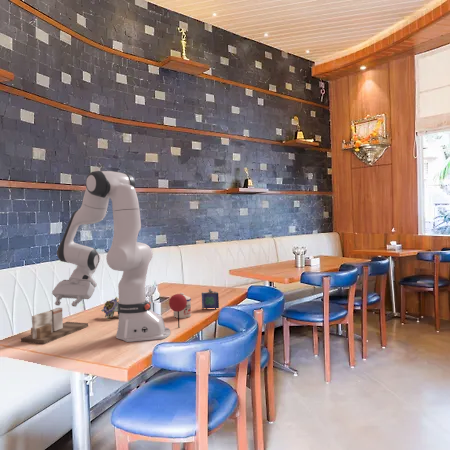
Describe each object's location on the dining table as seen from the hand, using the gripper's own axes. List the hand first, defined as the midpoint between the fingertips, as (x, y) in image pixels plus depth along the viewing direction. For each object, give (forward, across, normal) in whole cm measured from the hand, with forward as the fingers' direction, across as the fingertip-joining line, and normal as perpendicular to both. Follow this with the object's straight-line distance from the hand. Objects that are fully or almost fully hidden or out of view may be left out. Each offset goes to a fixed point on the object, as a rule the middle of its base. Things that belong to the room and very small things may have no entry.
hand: (65, 305), depth 181 cm
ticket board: (+12, 0, +4) cm, 13 cm away
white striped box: (+11, 0, +3) cm, 11 cm away
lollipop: (-3, +49, +19) cm, 53 cm away
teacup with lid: (-18, +41, +34) cm, 56 cm away
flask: (-30, +49, +46) cm, 73 cm away
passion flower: (-10, +8, +27) cm, 30 cm away
